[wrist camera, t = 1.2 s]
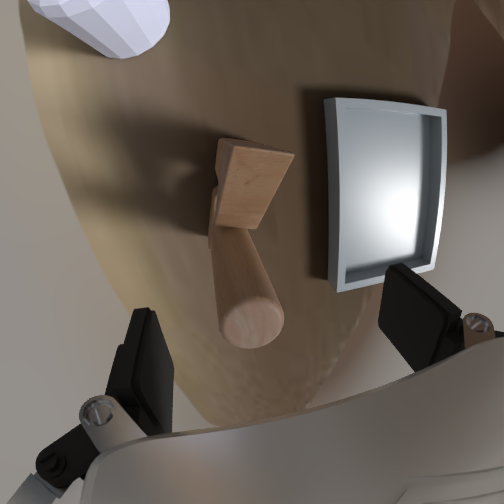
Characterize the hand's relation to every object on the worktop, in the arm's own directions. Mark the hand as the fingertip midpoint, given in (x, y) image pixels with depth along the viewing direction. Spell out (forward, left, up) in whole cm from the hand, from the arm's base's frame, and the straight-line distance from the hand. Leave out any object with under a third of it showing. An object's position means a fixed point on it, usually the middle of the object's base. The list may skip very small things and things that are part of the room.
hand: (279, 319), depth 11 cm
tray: (+2, +19, -21) cm, 29 cm away
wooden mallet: (0, 0, -22) cm, 22 cm away
